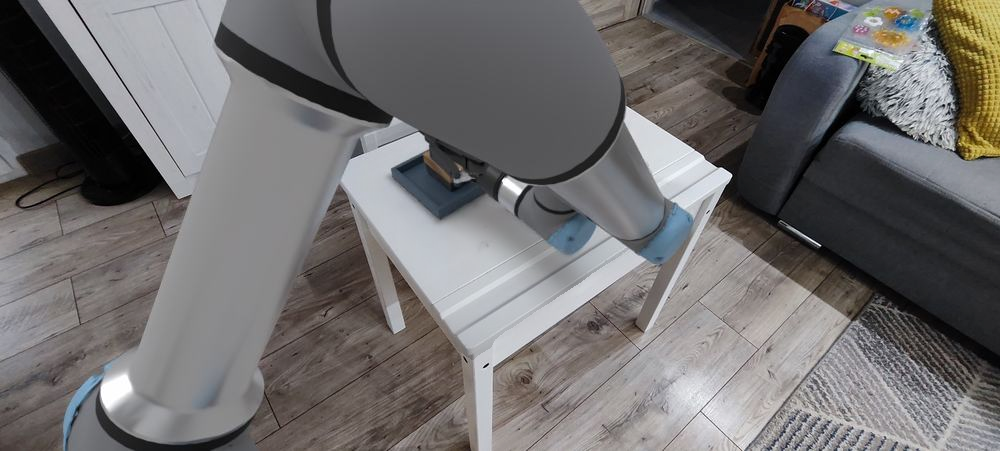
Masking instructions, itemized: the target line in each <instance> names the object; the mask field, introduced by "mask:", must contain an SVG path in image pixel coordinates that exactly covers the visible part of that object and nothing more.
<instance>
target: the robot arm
mask: <svg viewBox="0 0 1000 451" xmlns="http://www.w3.org/2000/svg"><path fill="white" fill-rule="evenodd" d="M224 4H225V5H224V8H223V11H222V13H221V17H220V21H219V24H218V27H217V30H216V34H215V37H214V40H213V42H212V48H213V50H214V53H215V54H216V56H217V57H218V59H219V61H220V62H221V64H222V66H223V68H224V70H225V71H226V73H227V75H228V77H229V81H230V84H229V87H228V90H227V93H226V96H225V99H224V102H223V104H222V106H221V107H222V108H221V111H220V114H219V116H218V118H217V122H216V125H215V128H214V130H213V133H212V136H211V138H210V142H209V145H208V147H207V150H206V153H205V156H204V159H203V161H202V165H201V168H200V169H199V170H200V171H199V172H198V176H197V179H196V182H195V185H194V188H193V191H192V193H191V196H190V199H189V203H188V205H187V208H186V210H185V213H184V217H183V219H182V222H181V225H180V228H179V230H178V234H177V237H176V239H175V241H174V242H175V243H174V244H173V248H172V251H171V254H170V256H169V259H168V262H167V265H166V267H165V271H164V274H163V276H162V279H161V283H160V285H159V288H158V290H157V294H156V297H155V300H154V303H153V305H152V308H151V311H150V313H149V317H148V319H147V322H146V325H145V328H144V332H143V333H142V336H141V340H140V342H139V344H137V345H136V346H134V347H131V348H130V349H128V350H126V351H124V352H123V353H122V354H121V355H120V356H118V357H117V358H115V359H113V360H112V361H110V362H109V363H107V364H106V365H105V366H104V367H103V371H104V372H103V373H100V374H94V375H91V376H90V377H89V378H88V379H86V380H85V382H83V384H82V385H81V386H80V387H79V388H78V389H77V391H76V392H75V394H74V395H73V397H72V398H71V400H70V401H69V404H68V406H67V408H66V411H65V414H64V417H63V425H62V434H63V439H62V440H63V441H62V446H63V447H62V448H63V449H62V450H63V451H259V449H258V447H257V445H256V444H255V441H254V439H253V438H252V436H251V431H250V430H251V429H250V428H251V426H252V424H253V421H254V419H255V417H256V415H257V412H258V410H259V408H260V406H261V404H262V401H263V398H264V393H265V381H264V376H263V373H262V371H261V370H260V368H259V363H260V361H261V359H262V356H263V355H264V353H265V350H266V348H267V345H268V343H269V341H270V340H271V337H272V334H273V332H274V330H275V327H276V325H277V323H278V321H279V319H280V316H281V314H282V312H283V309H284V308H285V305H286V303H287V301H288V299H289V296H290V294H291V292H292V291H293V287H294V285H295V283H296V281H297V279H298V277H299V274H300V271H301V270H302V268H303V266H304V263H305V261H306V259H307V256H308V254H309V252H310V249H311V247H312V245H313V243H314V241H315V238H316V237H317V234H318V232H319V229H320V227H321V226H322V223H323V221H324V218H325V216H326V214H327V211H328V209H329V208H330V205H331V202H332V200H333V198H334V196H335V195H336V191H337V189H338V187H339V185H340V183H341V181H342V178H343V176H344V174H345V171H346V169H347V167H348V165H349V162H350V161H351V158H352V155H353V154H354V151H355V150H356V147H357V144H358V142H359V140H360V138H362V137H364V136H366V135H367V134H370V133H371V134H372V133H374V132H377V131H381V130H383V129H386V128H387V129H388V128H389V127H390V125H391V123H392V122H393V120H394V118H395V119H397V120H399V121H401V122H403V123H404V124H406V125H408V126H410V127H412V128H414V129H416V130H418V133H419V134H421V135H422V136H423V138H424V141H425V142H426V143H427V144H428V149H429V152H430V158H431V159H432V160H433V161H434V162H435V163H436V164H437V165H438V166H439V167H440V168H441V169H443V170H444V171H445V172H446V173H447V174H448V175H449V176H450V177H451V178H452V181H453V184H454V186H456V187H459V186H460V185H461V182H464V181H470V182H472V183H475V184H478V185H479V186H480V187H481V188H482V190H483V191H484V192H485V193H484V194H486V195H488V196H489V197H490V198H491V199H493V200H494V201H495V202H497V203H498V204H499V205H500V206H502V207H503V208H504V209H505V210H507V211H508V212H509V213H510V214H512V215H513V216H515V217H516V218H517V219H518V220H519V221H521V222H522V223H524V224H525V225H526V226H527V227H529V229H531V230H532V231H533V232H534V233H536V234H537V235H538V236H539V237H540V238H542V239H543V240H544V241H545V242H546V243H547V245H550V246H552V247H553V248H555V249H556V250H558V251H559V252H561V253H562V254H564V255H573V254H575V253H577V252H579V251H580V250H581V249H582V248H584V247H585V246H586V245H587V243H588V242H589V241H590V239H592V237H593V235H594V234H595V231H596V229H597V227H598V228H600V229H602V230H603V231H604V232H606V233H607V234H609V235H610V236H611V237H612V238H614V239H615V240H617V241H618V242H620V243H621V244H623V245H624V246H625V247H626V248H627V249H629V250H631V251H632V252H634V254H636V255H637V256H639V257H641V258H643V259H644V260H646V261H648V262H650V264H653V265H656V266H658V265H659V266H660V265H663V264H664V263H666V262H668V261H669V260H670V259H671V258H672V257H673V256H674V255H675V254H676V253H677V251H678V250H679V249H680V248H681V247H682V245H683V244H684V242H685V241H686V239H687V238H688V237H689V234H691V231H692V228H693V226H694V217H693V215H692V214H691V213H690V212H689V211H688V210H686V209H684V208H683V207H682V206H680V205H679V203H678V202H674V201H672V200H670V199H668V198H667V197H665V196H664V195H663V194H662V192H661V190H660V188H659V186H658V184H657V182H656V180H655V178H654V176H652V175H653V173H652V174H651V172H650V170H649V168H650V167H649V168H648V167H647V165H646V163H645V161H644V160H645V158H644V156H643V155H642V153H641V151H640V149H639V147H638V146H637V143H636V141H635V139H634V138H633V136H632V134H631V132H630V130H629V128H628V126H627V124H626V122H625V120H626V113H627V94H626V89H625V84H624V82H623V80H622V76H621V75H620V73H619V70H618V68H617V65H616V63H615V61H614V59H613V56H612V55H611V53H610V51H609V49H608V46H607V45H606V42H605V41H604V39H603V37H602V35H601V34H600V32H599V30H598V29H597V27H596V26H595V24H594V22H593V20H591V17H590V16H589V14H588V13H587V12H586V10H585V8H584V6H583V5H582V4H581V2H580V0H226V2H225V3H224ZM454 162H455V163H457V164H459V165H460V166H462V167H463V169H464V170H466V171H467V172H468V173H465V172H464V171H463V170H462V168H458V166H457V165H456V164H455V163H454Z"/></svg>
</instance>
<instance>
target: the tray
mask: <svg viewBox="0 0 1000 451" xmlns="http://www.w3.org/2000/svg"><path fill="white" fill-rule="evenodd" d="M428 151H429V148H427V149H426V150H424V151H422V152H420V153H418V154H416V155H414V156H413V157H411V158H409V159H407V160H405V161H403V162H401V163H399V164H397V165H394V166H393V167H391V168H390V173H391V177H392V179H394V180H395V181H396V182H397V183H398V184H399V185H400V186H402V187H403V188H404V189H405V190H406V191H407V192H408V193H409V194H410V195H411V196H412V197H414V198H415V199H416V200H417V201H418V202H419V203H420V204H421V205H422V206H424V207H425V209H427V210H428V211H429V212H430V213H431V214H433V215H434V216H435V217H436V218H437V219H438V220H441V219H443V218H445V217H446V216H449V215H450V214H451V213H453V212H455V211H456V210H458V209H459V208H461V207H462V206H464V205H467V204H468V203H470V202H471V201H473V200H475V199H477V198H478V197H479V196H481V195H483V194H486V193H485V192H484V191H483V190H482V188H481V187H480V186H479V185H478V184H475V183H472V182H470V181H469V182H467V183H465V184H463V185H462V186H460V187H458V188H456V189H455V190H453V191H450V190H449V189H448V188H446V187H445V186H444V185H443V184H442V183H440V182H439V181H438V180H437V179H436V178H434V177H433V176H432V175H431V174H430V173H428V172H427V169H426V163H425V162H424V157H423V154H424V153H426V152H428Z"/></svg>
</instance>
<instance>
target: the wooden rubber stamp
mask: <svg viewBox="0 0 1000 451" xmlns="http://www.w3.org/2000/svg"><path fill="white" fill-rule="evenodd" d="M423 157H424V162H425V163H426V169H427V172H428V173H430V174H431V175H432V176H433V177H434V178H436V179H437V180H438V181H439V182H440V183H442V184H443V185H444V186H445V187H446V188H448V189H449V190H450V191H453V190H455V189H456V188H458V187H456V186H454V184H453V181H452V178H451V177H450V176H449V175H448V174H447V173H446V172H445V171H444V170H443V169H441V168H440V167H439V166H438V165H437V164H436V163H435V162H434V161H433V160H432V159H431V158H430V152H429V151H428V152H426V153H424V154H423ZM454 163H455V162H454ZM455 164H456V165H457V166H458V168H462V170H463V171H464V172H465V173H468V172H467V171H466V170H464V169H463V167H462V166H460V165H459V164H457V163H455ZM467 182H469V181H464V182H461V185H460V186H462V185H463V184H465V183H467ZM460 186H459V187H460Z"/></svg>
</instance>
